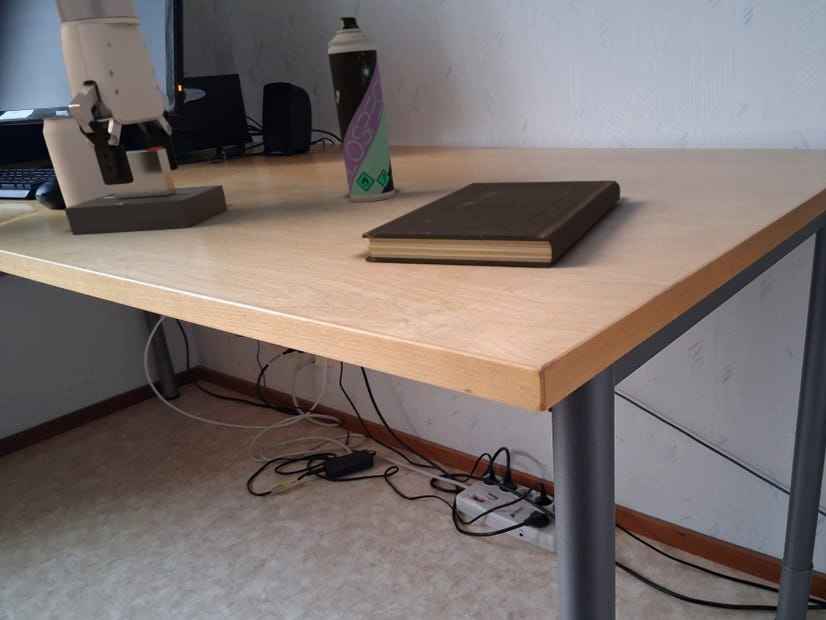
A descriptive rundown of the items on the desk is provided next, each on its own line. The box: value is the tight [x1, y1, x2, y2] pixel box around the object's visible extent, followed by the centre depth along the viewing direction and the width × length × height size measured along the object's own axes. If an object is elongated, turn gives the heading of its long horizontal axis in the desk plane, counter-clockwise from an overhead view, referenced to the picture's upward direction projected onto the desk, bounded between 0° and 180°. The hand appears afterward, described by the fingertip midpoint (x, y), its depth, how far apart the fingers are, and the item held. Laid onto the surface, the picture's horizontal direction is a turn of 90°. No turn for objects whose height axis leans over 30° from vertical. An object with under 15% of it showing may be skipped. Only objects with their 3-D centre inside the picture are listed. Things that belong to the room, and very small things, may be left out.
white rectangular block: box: [113, 147, 176, 199], centre depth 80 cm, size 6×2×5 cm, turn 84°
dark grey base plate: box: [64, 184, 228, 236], centre depth 82 cm, size 14×11×3 cm
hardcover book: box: [361, 180, 621, 268], centre depth 63 cm, size 16×23×2 cm
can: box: [42, 115, 115, 208], centre depth 95 cm, size 6×6×12 cm
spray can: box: [327, 16, 396, 203], centre depth 82 cm, size 6×6×20 cm
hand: (143, 176), depth 80 cm, fingers open, 9 cm apart
